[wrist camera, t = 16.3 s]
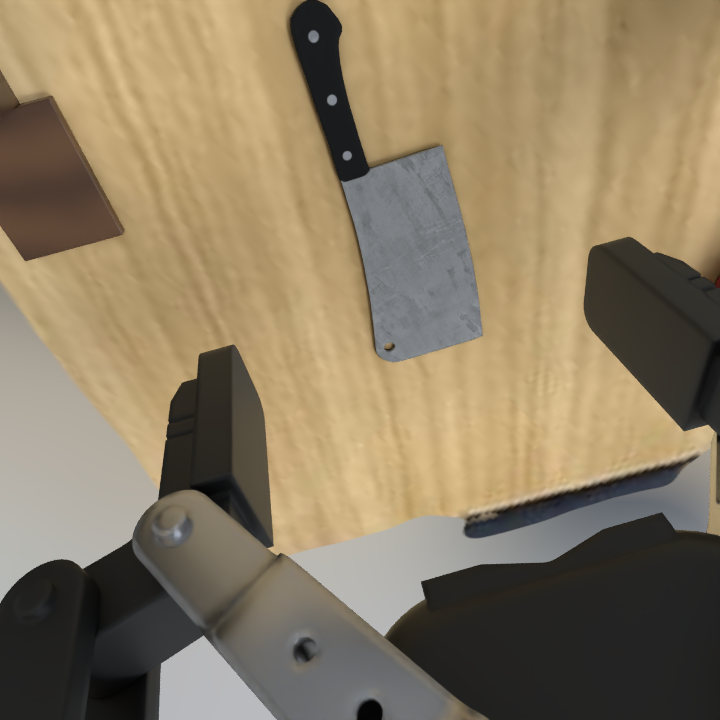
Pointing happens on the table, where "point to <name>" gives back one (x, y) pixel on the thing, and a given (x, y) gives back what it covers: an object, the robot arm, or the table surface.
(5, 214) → the spatula
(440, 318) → the cleaver
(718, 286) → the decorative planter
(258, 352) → the table surface
